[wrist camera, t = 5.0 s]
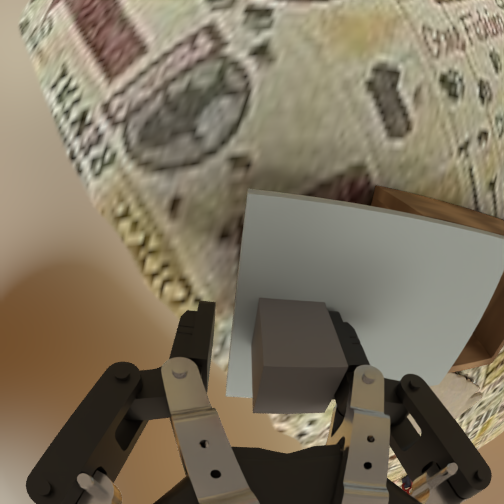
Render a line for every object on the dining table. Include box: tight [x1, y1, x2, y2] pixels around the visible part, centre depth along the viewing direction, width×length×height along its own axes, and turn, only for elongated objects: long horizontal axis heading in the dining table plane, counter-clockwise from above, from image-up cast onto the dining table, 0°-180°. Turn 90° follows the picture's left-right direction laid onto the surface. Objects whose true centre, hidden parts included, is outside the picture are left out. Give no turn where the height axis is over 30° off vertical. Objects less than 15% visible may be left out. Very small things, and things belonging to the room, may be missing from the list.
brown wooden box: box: [371, 185, 504, 373], centre depth 18 cm, size 16×12×6 cm
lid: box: [226, 189, 504, 414], centre depth 12 cm, size 16×12×5 cm
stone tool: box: [407, 372, 482, 434], centre depth 28 cm, size 13×4×25 cm
